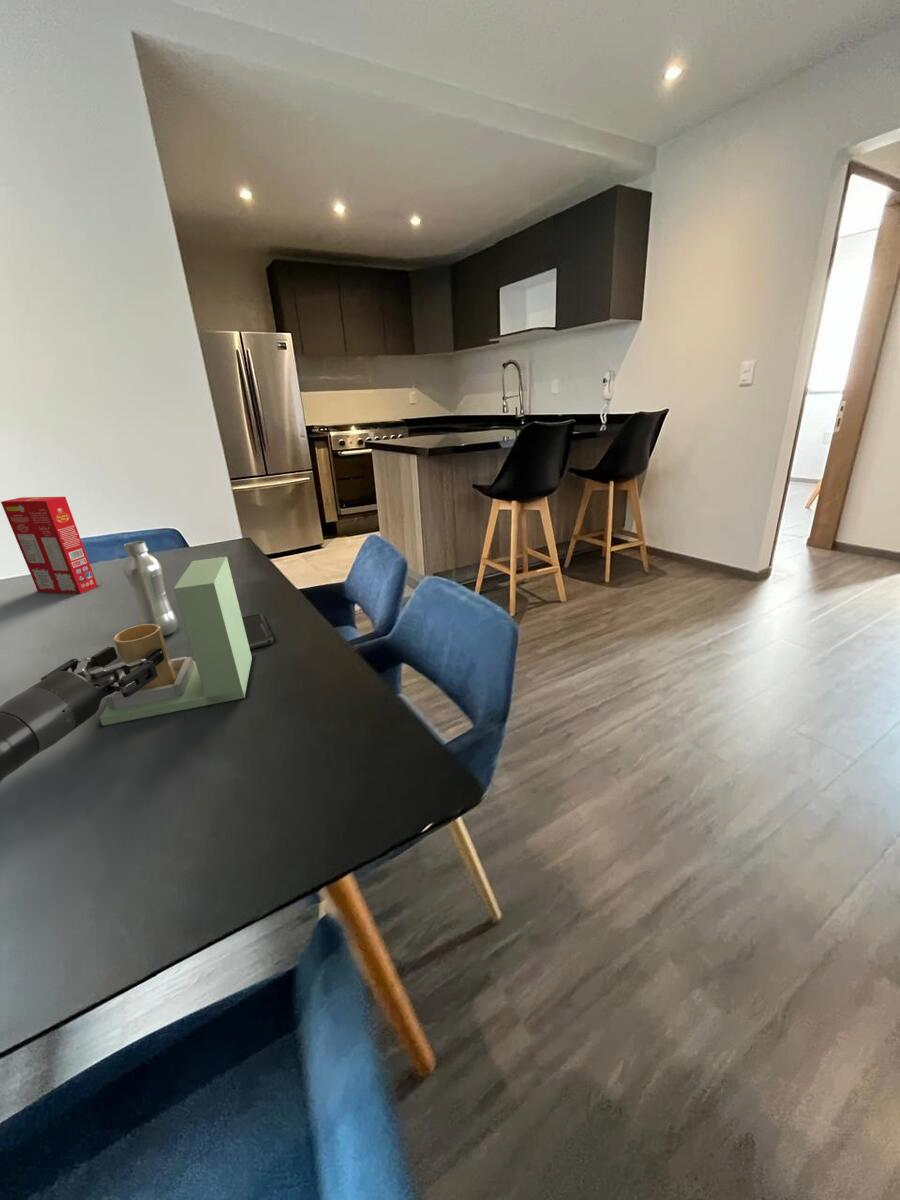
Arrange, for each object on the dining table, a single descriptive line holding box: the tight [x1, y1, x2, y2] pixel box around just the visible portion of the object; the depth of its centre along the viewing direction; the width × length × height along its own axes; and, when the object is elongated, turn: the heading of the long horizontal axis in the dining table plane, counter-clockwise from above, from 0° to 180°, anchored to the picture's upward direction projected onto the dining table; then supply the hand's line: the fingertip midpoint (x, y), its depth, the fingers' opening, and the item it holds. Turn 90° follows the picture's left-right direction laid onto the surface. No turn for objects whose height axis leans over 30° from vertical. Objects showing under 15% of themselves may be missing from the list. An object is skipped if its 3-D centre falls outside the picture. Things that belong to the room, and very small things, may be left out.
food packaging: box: [0, 496, 98, 594], centre depth 131 cm, size 15×5×25 cm, turn 77°
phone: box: [242, 613, 274, 651], centre depth 101 cm, size 8×1×15 cm
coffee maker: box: [99, 556, 253, 726], centre depth 79 cm, size 20×14×20 cm
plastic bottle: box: [123, 540, 178, 637], centre depth 100 cm, size 6×7×20 cm
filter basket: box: [112, 624, 176, 691], centre depth 80 cm, size 6×6×10 cm
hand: (137, 652), depth 78 cm, fingers open, 8 cm apart
